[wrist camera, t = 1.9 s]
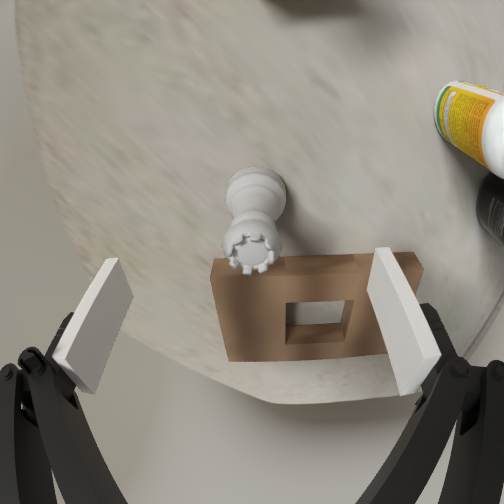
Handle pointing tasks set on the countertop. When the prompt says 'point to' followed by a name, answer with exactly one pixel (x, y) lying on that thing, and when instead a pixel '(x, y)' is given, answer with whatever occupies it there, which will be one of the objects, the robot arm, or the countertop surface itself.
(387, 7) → the countertop surface
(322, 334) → the walnut socket board
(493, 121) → the supplement bottle
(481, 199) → the supplement bottle
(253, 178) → the rook chess piece
